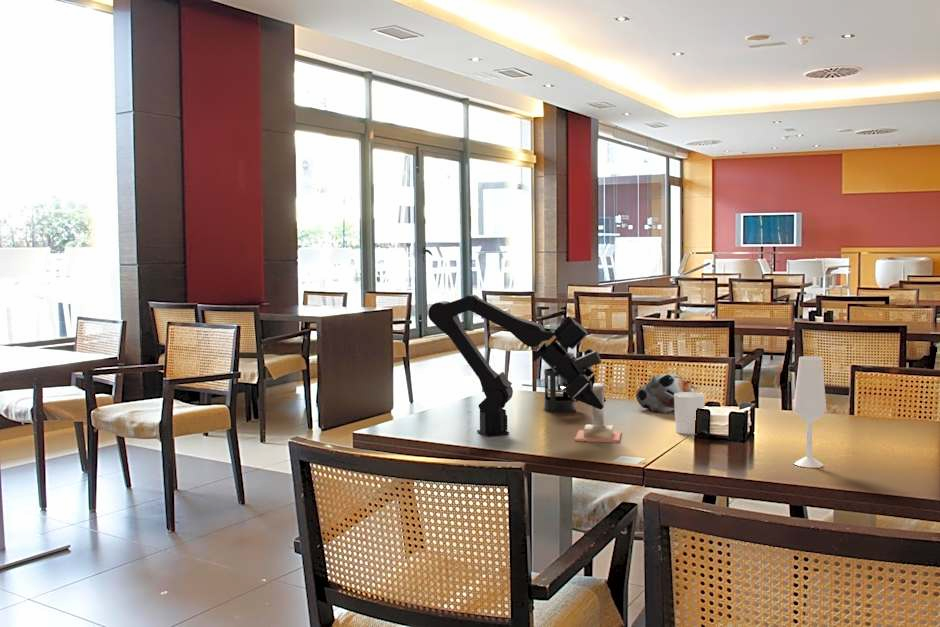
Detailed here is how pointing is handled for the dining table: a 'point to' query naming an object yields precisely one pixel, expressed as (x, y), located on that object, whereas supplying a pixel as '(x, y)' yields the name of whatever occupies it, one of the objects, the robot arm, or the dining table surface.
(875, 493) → the dining table surface
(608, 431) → the table number stand
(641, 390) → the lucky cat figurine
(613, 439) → the terracotta mat
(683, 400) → the white cup
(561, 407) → the french press
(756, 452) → the dining table surface
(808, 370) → the champagne flute
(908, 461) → the dining table surface
